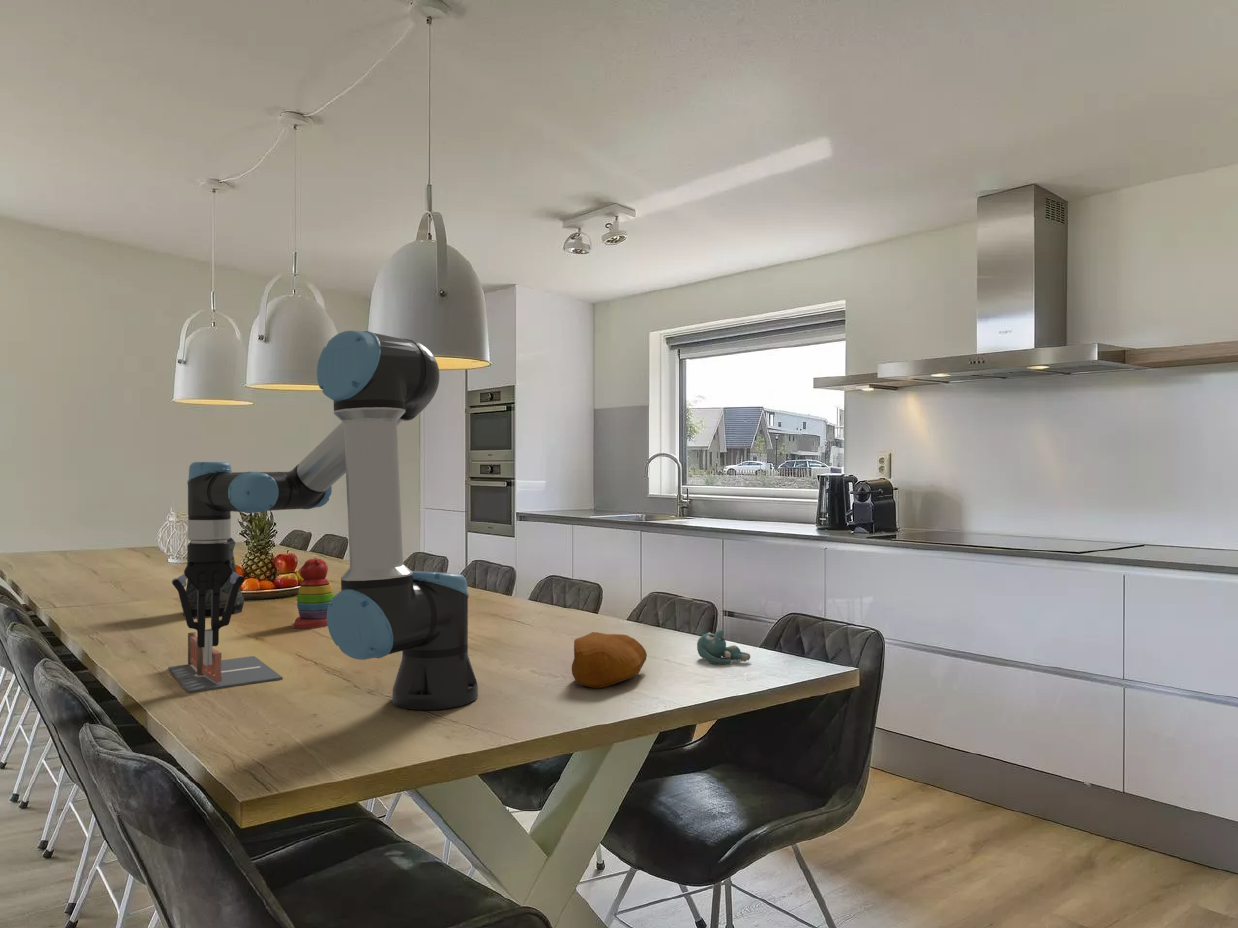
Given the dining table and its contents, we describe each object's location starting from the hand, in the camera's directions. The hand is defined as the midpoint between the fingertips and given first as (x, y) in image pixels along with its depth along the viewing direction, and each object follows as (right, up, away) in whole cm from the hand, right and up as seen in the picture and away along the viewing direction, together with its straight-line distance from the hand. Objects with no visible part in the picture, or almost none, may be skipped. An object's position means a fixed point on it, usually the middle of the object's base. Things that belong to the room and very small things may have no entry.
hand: (207, 663), depth 165 cm
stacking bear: (-2, -5, +64) cm, 65 cm away
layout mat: (-1, -4, +10) cm, 11 cm away
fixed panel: (-8, -4, +12) cm, 15 cm away
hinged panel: (0, -3, +3) cm, 4 cm away
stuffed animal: (+102, -4, +19) cm, 104 cm away
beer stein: (-38, -5, +83) cm, 92 cm away
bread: (+78, -4, +4) cm, 78 cm away
